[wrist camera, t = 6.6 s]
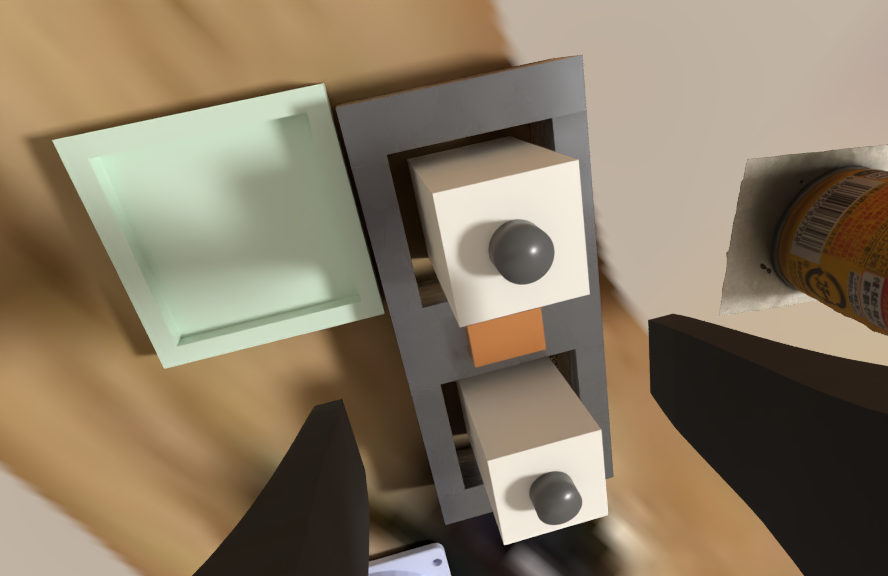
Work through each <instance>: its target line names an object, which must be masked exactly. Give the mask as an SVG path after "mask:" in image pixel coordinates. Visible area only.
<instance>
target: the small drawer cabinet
mask: <svg viewBox="0 0 888 576" xmlns="http://www.w3.org/2000/svg"><path fill="white" fill-rule="evenodd" d="M336 112H337V115H338V119H339V123H340V127H341V131H342V134H343V138H344V142H345V146H346V149H347V153H348V157H349V161H350V165H351V168H352V172H353V176H354V180H355V184H356V187H357V191H358V195H359V199H360V202H361V206H362V210H363V214H364V218H365V221H366V225H367V229H368V233H369V236H370V240H371V244H372V248H373V252H374V255H375V259H376V263H377V267H378V271H379V274H380V278H381V282H382V286H383V289H384V293H385V297H386V301H387V305H388V308H389V312H390V316H391V320H392V324H393V327H394V331H395V335H396V339H397V342H398V346H399V350H400V354H401V358H402V361H403V365H404V369H405V373H406V377H407V380H408V384H409V388H410V392H411V395H412V399H413V403H414V407H415V411H416V414H417V418H418V422H419V426H420V430H421V433H422V437H423V441H424V445H425V448H426V452H427V456H428V460H429V464H430V467H431V471H432V475H433V479H434V483H435V486H436V490H437V494H438V498H439V501H440V505H441V509H442V513H443V517H444V520H445V524H446V525H447V524H451V523H454V522H458V521H461V520H465V519H468V518H472V517H475V516H479V515H482V514H486V513H489V512H492V511H493V510H492V507H491V504H490V501H489V498H488V495H487V492H486V489H485V486H484V483H483V480H482V477H481V474H480V471H479V468H478V465H477V462H476V459H475V456H474V453H473V450H472V447H469V448H465V449H462V450H458V451H456V449H455V445H454V441H453V436H452V432H451V428H450V423H449V419H448V415H447V411H446V406H445V402H444V398H443V393H442V389H441V385H440V384H444V383H448V382H452V381H456V380H459V379H463V378H467V377H471V376H475V375H478V374H482V373H486V372H490V371H494V370H497V369H501V368H505V367H509V366H513V365H516V364H520V363H524V362H528V361H532V360H535V359H539V358H543V357H547V356H551V355H554V354H557V362H558V370H559V372H560V373H561V374H562V376H563V377H564V379H565V380H566V381H567V383H568V384H569V386H570V387H571V388H572V390H573V391H574V392H575V394H576V395H577V397H578V398H579V399H580V401H581V402H582V403H583V405H584V406H585V408H586V409H587V410H588V412H589V413H590V415H591V416H592V417H593V419H594V420H595V421H596V423H597V424H598V426H599V427H600V428H601V431H602V444H603V456H604V469H605V479H608V478H611V477H613V463H612V450H611V436H610V422H609V409H608V395H607V382H606V368H605V355H604V341H603V327H602V314H601V300H600V287H599V273H598V259H597V246H596V232H595V219H594V205H593V191H592V178H591V164H590V151H589V137H588V123H587V110H586V97H585V83H584V69H583V56H582V55H577V56H568V57H561V58H553V59H548V60H543V61H538V62H534V63H529V64H524V65H520V66H515V67H510V68H506V69H501V70H496V71H492V72H487V73H482V74H478V75H473V76H468V77H464V78H459V79H454V80H450V81H445V82H440V83H436V84H431V85H426V86H422V87H417V88H412V89H407V90H403V91H398V92H393V93H389V94H384V95H379V96H375V97H370V98H365V99H361V100H356V101H351V102H347V103H342V104H337V106H336ZM527 123H529V126H530V134H531V143H532V144H534V145H537V146H540V147H543V148H546V149H549V150H552V151H554V152H557V153H560V154H563V155H566V156H569V157H572V158H575V159H578V160H579V170H580V182H581V194H582V206H583V219H584V231H585V243H586V255H587V267H588V279H589V291H590V294H589V295H585V296H581V297H577V298H573V299H569V300H565V301H561V302H557V303H554V304H550V305H546V306H542V307H538V308H534V309H530V310H526V311H522V312H518V313H514V314H511V315H507V316H503V317H499V318H495V319H491V320H487V321H483V322H479V323H475V324H471V325H468V326H464V327H459V325H458V322H457V320H456V318H455V316H454V313H453V311H452V309H451V307H450V304H449V302H448V300H447V298H446V295H445V293H444V291H443V289H442V286H441V284H440V282H439V280H438V278H435V279H431V280H427V281H422V282H418V283H417V282H416V278H415V274H414V269H413V265H412V261H411V257H410V252H409V248H408V244H407V239H406V235H405V231H404V227H403V222H402V218H401V214H400V209H399V205H398V201H397V197H396V192H395V188H394V184H393V179H392V175H391V171H390V167H389V162H388V158H387V155H388V154H393V153H397V152H402V151H406V150H410V149H415V148H419V147H424V146H428V145H433V144H437V143H442V142H446V141H451V140H455V139H460V138H464V137H469V136H473V135H478V134H482V133H486V132H491V131H495V130H500V129H504V128H509V127H513V126H518V125H522V124H527Z"/></svg>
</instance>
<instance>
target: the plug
mask: <svg viewBox="0 0 888 576" xmlns="http://www.w3.org/2000/svg"><path fill="white" fill-rule="evenodd" d="M407 161H408V166H409V170H410V175H411V179H412V184H413V188H414V193H415V198H416V202H417V207H418V211H419V216H420V220H421V225H422V230H423V234H424V239H425V243H426V248H427V252H428V257H429V260H430V262H431V264H432V266H433V269H434V271H435V273H436V275H437V277H438V280H439V282H440V284H441V286H442V289H443V291H444V293H445V295H446V298H447V300H448V302H449V304H450V307H451V309H452V311H453V313H454V316H455V318H456V320H457V322H458V325H459V327H464V326H468V325H471V324H475V323H479V322H483V321H487V320H491V319H495V318H499V317H503V316H507V315H511V314H514V313H518V312H522V311H526V310H530V309H534V308H538V307H542V306H546V305H550V304H554V303H557V302H561V301H565V300H569V299H573V298H577V297H581V296H585V295H589V294H590V291H589V279H588V267H587V255H586V243H585V231H584V219H583V206H582V194H581V182H580V170H579V160H578V159H575V158H572V157H569V156H566V155H563V154H560V153H557V152H554V151H552V150H549V149H546V148H543V147H540V146H537V145H534V144H531V143H528V142H525V141H522V140H519V139H516V138H513V137H510V136H508V137H503V138H499V139H495V140H490V141H486V142H481V143H477V144H472V145H468V146H464V147H459V148H455V149H450V150H446V151H441V152H437V153H433V154H428V155H424V156H419V157H415V158H410V159H407Z"/></svg>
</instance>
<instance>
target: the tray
mask: <svg viewBox="0 0 888 576" xmlns="http://www.w3.org/2000/svg"><path fill="white" fill-rule="evenodd" d="M52 141H53V143H54V145H55V147H56V149H57V151H58V153H59V155H60V157H61V159H62V162H63V164H64V166H65V168H66V170H67V172H68V174H69V176H70V178H71V180H72V182H73V184H74V186H75V188H76V190H77V192H78V194H79V196H80V198H81V200H82V202H83V204H84V206H85V208H86V210H87V212H88V214H89V216H90V218H91V220H92V223H93V225H94V227H95V229H96V231H97V233H98V235H99V237H100V239H101V241H102V243H103V245H104V247H105V249H106V251H107V253H108V255H109V257H110V259H111V261H112V263H113V265H114V267H115V269H116V271H117V273H118V275H119V277H120V279H121V281H122V284H123V286H124V288H125V290H126V292H127V294H128V296H129V298H130V300H131V302H132V304H133V306H134V308H135V310H136V312H137V314H138V316H139V318H140V320H141V322H142V324H143V326H144V328H145V330H146V332H147V334H148V336H149V338H150V340H151V342H152V345H153V347H154V349H155V351H156V353H157V355H158V357H159V359H160V361H161V363H162V365H163V367H164V369H165V368H169V367H173V366H177V365H181V364H185V363H189V362H193V361H197V360H201V359H205V358H209V357H213V356H217V355H221V354H225V353H229V352H233V351H237V350H241V349H245V348H249V347H253V346H257V345H261V344H265V343H269V342H273V341H277V340H281V339H286V338H290V337H294V336H298V335H302V334H306V333H310V332H314V331H318V330H322V329H326V328H330V327H334V326H338V325H342V324H346V323H350V322H354V321H358V320H362V319H366V318H370V317H374V316H378V315H382V314H385V313H384V306H383V300H382V297H381V293H380V289H379V285H378V282H377V278H376V274H375V270H374V267H373V263H372V259H371V255H370V252H369V248H368V244H367V241H366V237H365V233H364V229H363V226H362V222H361V218H360V214H359V211H358V207H357V203H356V199H355V196H354V192H353V188H352V185H351V181H350V177H349V173H348V170H347V166H346V162H345V158H344V155H343V151H342V147H341V143H340V140H339V136H338V132H337V128H336V125H335V121H334V117H333V114H332V110H331V106H330V102H329V99H328V95H327V91H326V87H325V84H324V83H322V84H317V85H313V86H308V87H303V88H298V89H294V90H289V91H284V92H279V93H275V94H270V95H265V96H260V97H255V98H251V99H246V100H241V101H236V102H232V103H227V104H222V105H217V106H213V107H208V108H203V109H198V110H194V111H189V112H184V113H179V114H174V115H170V116H165V117H160V118H155V119H151V120H146V121H141V122H136V123H132V124H127V125H122V126H117V127H113V128H108V129H103V130H98V131H93V132H89V133H84V134H79V135H74V136H70V137H65V138H60V139H55V140H52Z"/></svg>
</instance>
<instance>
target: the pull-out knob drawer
mask: <svg viewBox="0 0 888 576" xmlns="http://www.w3.org/2000/svg"><path fill="white" fill-rule="evenodd" d="M456 384H457V389H458V393H459V398H460V403H461V407H462V412H463V417H464V421H465V426H466V430H467V435H468V438H469V441H470V444H471V447H472V450H473V453H474V456H475V459H476V462H477V465H478V468H479V471H480V474H481V477H482V480H483V483H484V486H485V489H486V492H487V495H488V498H489V501H490V504H491V507H492V510H493V513H494V516H495V519H496V522H497V525H498V528H499V531H500V534H501V537H502V540H503V543H504V545H507V544H510V543H514V542H517V541H520V540H524V539H527V538H531V537H534V536H538V535H541V534H544V533H548V532H551V531H555V530H558V529H561V528H565V527H568V526H572V525H575V524H579V523H582V522H585V521H589V520H592V519H596V518H599V517H603V516H606V515H608V506H607V494H606V481H605V469H604V456H603V444H602V431H601V428H600V427H599V426H598V424H597V423H596V421H595V420H594V419H593V417H592V416H591V415H590V413H589V412H588V410H587V409H586V408H585V406H584V405H583V403H582V402H581V401H580V399H579V398H578V397H577V395H576V394H575V392H574V391H573V390H572V388H571V387H570V386H569V384H568V383H567V381H566V380H565V379H564V377H563V376H562V374H561V373H560V372H559V370H558V369H557V368H556V366H555V365H554V363H553V362H552V361H551V359H550V358H549V357H548V356H547V357H543V358H539V359H535V360H532V361H528V362H524V363H520V364H516V365H513V366H509V367H505V368H501V369H497V370H494V371H490V372H486V373H482V374H478V375H475V376H471V377H467V378H463V379H459V380H456Z"/></svg>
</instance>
